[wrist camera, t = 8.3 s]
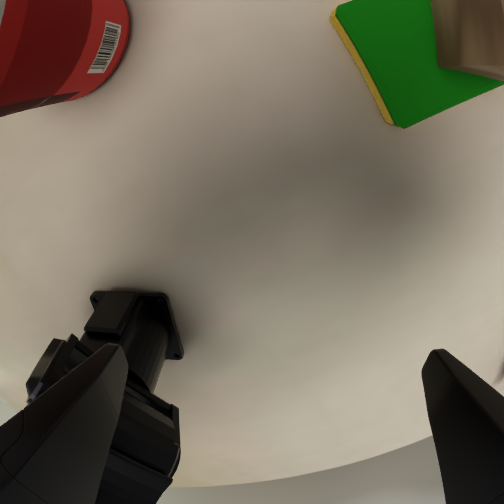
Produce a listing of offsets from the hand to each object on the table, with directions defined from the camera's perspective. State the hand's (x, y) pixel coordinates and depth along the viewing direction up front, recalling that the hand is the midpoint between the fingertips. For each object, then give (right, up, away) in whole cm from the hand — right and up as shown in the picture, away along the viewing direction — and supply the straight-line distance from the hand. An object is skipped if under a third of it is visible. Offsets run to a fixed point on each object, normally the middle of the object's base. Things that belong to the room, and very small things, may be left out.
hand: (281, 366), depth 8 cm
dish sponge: (+11, +16, +5) cm, 20 cm away
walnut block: (+11, +15, +3) cm, 18 cm away
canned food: (-11, +16, +6) cm, 20 cm away
